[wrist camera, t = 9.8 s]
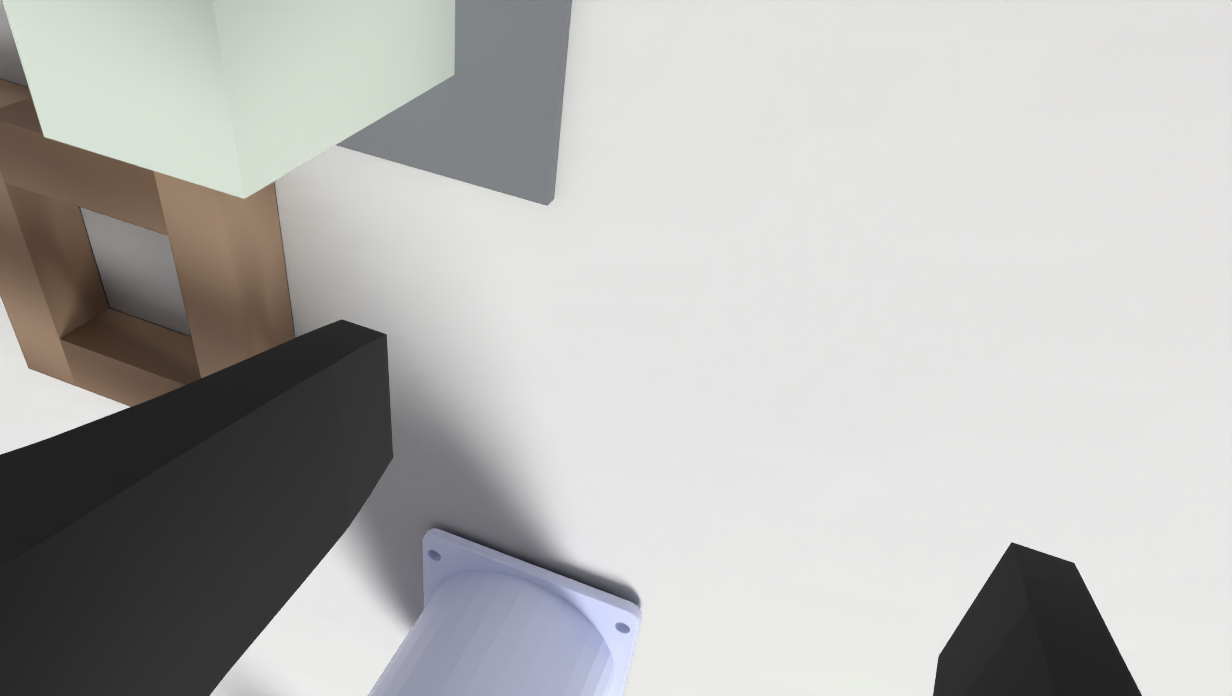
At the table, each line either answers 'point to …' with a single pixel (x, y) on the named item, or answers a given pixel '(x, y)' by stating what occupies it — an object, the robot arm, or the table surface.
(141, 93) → the part block
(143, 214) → the frame
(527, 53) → the mat
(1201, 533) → the table surface
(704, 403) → the table surface
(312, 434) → the robot arm
